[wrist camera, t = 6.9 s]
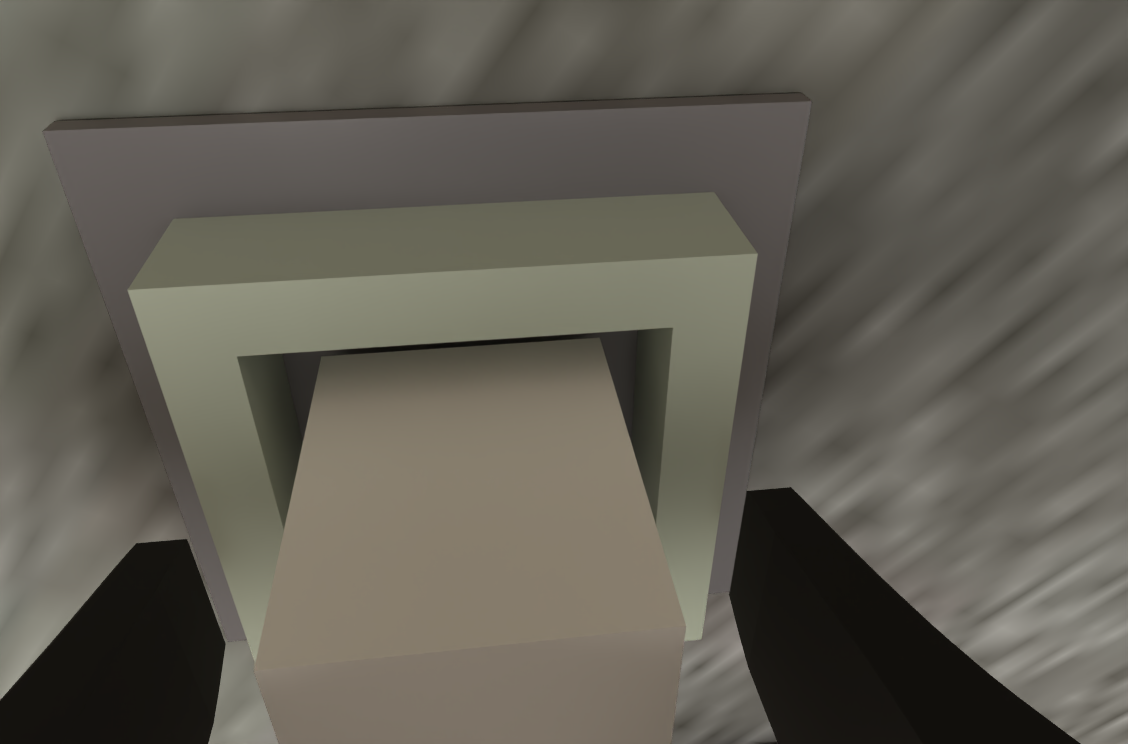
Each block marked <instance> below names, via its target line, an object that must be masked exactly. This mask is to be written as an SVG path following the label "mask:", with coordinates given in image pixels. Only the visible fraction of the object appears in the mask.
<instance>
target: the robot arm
mask: <svg viewBox="0 0 1128 744" xmlns="http://www.w3.org/2000/svg"><path fill="white" fill-rule="evenodd" d="M729 596H730V600H731V604H732V608H733V612H734V616H735V620H736V624H737V628H738V632H739V635H740V639H741V643H742V646H743V650H744V654H745V657H746V661H747V664H748V667H749V670H750V673H751V675H752V678H753V681H754V683H755V686H756V688H757V691H758V694H759V696H760V699H761V701H762V704H763V706H764V709H765V712H766V714H767V717H768V719H769V722H770V724H771V727H772V729H773V732H774V734H775V737H776V739H777V742H778V744H1080V743H1079V742H1078V741H1076V740H1075V739H1073V738H1072V737H1071V736H1069V735H1068V734H1067V733H1065V732H1064V731H1063V730H1061V729H1060V728H1059V727H1057V726H1056V725H1055V724H1053V723H1052V722H1051V721H1049V720H1048V719H1047V718H1045V717H1044V716H1043V715H1041V714H1040V713H1039V712H1037V711H1036V710H1035V709H1033V708H1032V707H1031V706H1029V705H1028V704H1027V703H1025V702H1024V701H1023V700H1021V699H1020V698H1019V697H1017V696H1016V695H1015V694H1014V693H1012V692H1011V691H1010V690H1008V689H1007V688H1006V687H1005V686H1003V685H1002V684H1001V683H1000V682H998V681H997V680H996V679H995V678H993V677H992V676H991V675H990V674H989V673H987V672H986V671H985V670H984V669H983V668H981V667H980V666H979V665H978V664H977V663H975V662H974V661H973V660H972V659H971V658H970V657H968V656H967V655H966V654H965V653H964V652H963V651H961V650H960V649H959V648H958V647H957V646H956V645H954V644H953V643H952V642H951V641H950V640H949V639H947V638H946V637H945V636H944V635H943V634H942V633H941V632H940V631H938V630H937V629H936V628H935V627H934V626H933V625H932V624H931V623H930V622H928V621H927V620H926V619H925V618H924V617H923V616H922V615H921V614H920V613H919V612H918V611H916V610H915V609H914V608H913V607H912V606H911V605H910V604H909V603H908V602H907V601H906V600H905V599H904V598H903V597H901V596H900V595H899V594H898V593H897V592H896V591H895V590H894V589H893V588H892V587H891V586H890V585H889V584H888V583H886V582H885V581H884V580H883V579H882V578H881V577H880V576H879V575H878V574H877V573H876V572H875V571H874V570H873V569H872V568H871V567H870V566H869V565H868V564H867V563H866V562H865V561H864V560H863V559H862V558H861V557H860V556H859V555H858V554H857V553H856V552H855V551H854V550H853V549H852V548H851V547H850V546H849V545H848V544H847V543H846V542H845V541H844V540H843V539H842V538H841V537H840V536H839V535H838V534H837V533H836V532H835V531H834V530H833V529H832V528H831V527H830V526H829V525H828V524H827V523H826V522H825V521H824V520H823V519H822V518H821V517H820V516H819V515H818V514H817V513H816V512H815V511H814V510H813V509H812V508H811V507H810V506H809V505H808V504H807V503H806V502H805V501H804V500H803V499H802V498H801V497H800V496H799V495H798V494H797V493H796V492H795V491H794V490H793V489H792V488H791V487H790V488H778V489H766V490H755V491H746V497H745V503H744V509H743V515H742V521H741V527H740V533H739V539H738V545H737V551H736V557H735V563H734V569H733V575H732V580H731V586H730V592H729ZM224 651H225V641H224V639H223V636H222V633H221V630H220V628H219V625H218V622H217V620H216V617H215V614H214V611H213V609H212V606H211V603H210V600H209V598H208V595H207V592H206V590H205V587H204V584H203V581H202V579H201V576H200V573H199V571H198V568H197V565H196V562H195V560H194V557H193V554H192V552H191V549H190V546H189V543H188V541H187V539H183V540H171V541H159V542H147V543H136V544H135V545H134V547H133V548H132V549H131V550H130V551H129V552H128V553H127V554H126V555H125V557H124V558H123V559H122V560H121V561H120V562H119V563H118V565H117V566H116V567H115V568H114V569H113V570H112V572H111V573H110V574H109V575H108V576H107V577H106V579H105V580H104V581H103V582H102V583H101V585H100V586H99V587H98V588H97V589H96V591H95V592H94V593H93V594H92V595H91V596H90V598H89V599H88V600H87V601H86V602H85V604H84V605H83V606H82V607H81V608H80V609H79V611H78V612H77V613H76V614H75V615H74V616H73V618H72V619H71V620H70V621H69V622H68V624H67V625H66V626H65V627H64V628H63V629H62V631H61V632H60V633H59V634H58V635H57V636H56V638H55V639H54V640H53V641H52V642H51V643H50V645H49V646H48V647H47V648H46V649H45V650H44V651H43V652H42V654H41V655H40V656H39V657H38V658H37V659H36V660H35V661H34V663H33V664H32V665H31V666H30V667H29V668H28V669H27V671H26V672H25V673H24V674H23V675H22V676H21V677H20V678H19V680H18V681H17V682H16V683H15V684H14V685H13V686H12V687H11V689H10V690H9V691H8V692H7V693H6V694H5V695H4V697H3V698H2V699H1V700H0V744H208V742H209V738H210V734H211V730H212V727H213V723H214V717H215V711H216V705H217V699H218V693H219V686H220V679H221V672H222V665H223V658H224Z"/></svg>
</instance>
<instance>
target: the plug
mask: <svg viewBox="0 0 1128 744" xmlns="http://www.w3.org/2000/svg"><path fill="white" fill-rule="evenodd" d="M685 631H686V624H685V620H684V617H683V614H682V610H681V607H680V604H679V600H678V597H677V594H676V590H675V587H674V584H673V580H672V577H671V574H670V570H669V567H668V564H667V560H666V557H665V554H664V550H663V547H662V544H661V540H660V537H659V534H658V530H657V527H656V524H655V520H654V517H653V514H652V510H651V507H650V504H649V500H648V497H647V494H646V490H645V487H644V484H643V480H642V477H641V474H640V470H639V467H638V464H637V460H636V457H635V454H634V450H633V447H632V444H631V440H630V437H629V434H628V430H627V427H626V424H625V420H624V417H623V414H622V410H621V407H620V404H619V400H618V397H617V394H616V390H615V387H614V384H613V380H612V377H611V374H610V370H609V367H608V364H607V360H606V357H605V354H604V350H603V347H602V344H601V340H600V338H587V339H572V340H557V341H543V342H528V343H513V344H498V345H484V346H469V347H454V348H439V349H424V350H410V351H395V352H380V353H365V354H351V355H336V356H321V361H320V365H319V370H318V375H317V379H316V384H315V389H314V393H313V398H312V403H311V407H310V412H309V416H308V421H307V426H306V430H305V435H304V440H303V444H302V449H301V454H300V458H299V463H298V467H297V472H296V477H295V481H294V486H293V491H292V495H291V500H290V505H289V509H288V514H287V518H286V523H285V528H284V532H283V537H282V542H281V546H280V551H279V556H278V560H277V565H276V570H275V574H274V579H273V583H272V588H271V593H270V597H269V602H268V607H267V611H266V616H265V621H264V625H263V630H262V634H261V639H260V644H259V648H258V653H257V658H256V662H255V667H254V674H255V676H256V679H257V682H258V685H259V688H260V691H261V694H262V696H263V699H264V702H265V705H266V708H267V711H268V714H269V717H270V719H271V722H272V725H273V728H274V731H275V734H276V737H277V740H278V742H279V744H671V742H672V734H673V726H674V718H675V710H676V702H677V694H678V686H679V679H680V671H681V663H682V655H683V647H684V639H685Z"/></svg>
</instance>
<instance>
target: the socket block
mask: <svg viewBox="0 0 1128 744" xmlns="http://www.w3.org/2000/svg"><path fill="white" fill-rule="evenodd" d="M811 105H812V101H811V100H810V99H809V98H807V97H806V96H805V95H804V94H802V93H786V94H759V95H733V96H706V97H680V98H653V99H627V100H600V101H574V102H547V103H520V104H494V105H467V106H441V107H414V108H388V109H361V110H334V111H308V112H281V113H255V114H228V115H202V116H175V117H149V118H122V119H95V120H69V121H54V122H53V123H52V124H50V125H49V126H48V127H47V128H46V129H44V130H43V134H44V137H45V140H46V142H47V145H48V148H49V151H50V153H51V156H52V159H53V162H54V164H55V167H56V170H57V173H58V175H59V178H60V181H61V184H62V186H63V189H64V192H65V195H66V197H67V200H68V203H69V206H70V208H71V211H72V214H73V217H74V219H75V222H76V225H77V228H78V230H79V233H80V236H81V239H82V241H83V244H84V247H85V250H86V252H87V255H88V258H89V261H90V263H91V266H92V269H93V272H94V274H95V277H96V280H97V283H98V285H99V288H100V291H101V294H102V296H103V299H104V302H105V305H106V307H107V310H108V313H109V316H110V318H111V321H112V324H113V327H114V329H115V332H116V335H117V338H118V341H119V343H120V346H121V349H122V352H123V354H124V357H125V360H126V363H127V365H128V368H129V371H130V374H131V376H132V379H133V382H134V385H135V387H136V390H137V393H138V396H139V398H140V401H141V404H142V407H143V409H144V412H145V415H146V418H147V420H148V423H149V426H150V429H151V431H152V434H153V437H154V440H155V442H156V445H157V448H158V451H159V453H160V456H161V459H162V462H163V464H164V467H165V470H166V473H167V475H168V478H169V481H170V484H171V486H172V489H173V492H174V495H175V497H176V500H177V503H178V506H179V508H180V511H181V514H182V517H183V519H184V522H185V525H186V528H187V530H188V533H189V536H190V539H191V541H192V544H193V547H194V550H195V552H196V555H197V558H198V561H199V563H200V566H201V569H202V572H203V574H204V577H205V580H206V583H207V585H208V588H209V591H210V594H211V596H212V599H213V602H214V605H215V607H216V610H217V613H218V616H219V618H220V621H221V624H222V627H223V629H224V632H225V635H226V638H227V640H228V642H232V641H242V640H247V641H248V644H249V647H250V650H251V653H252V656H253V659H254V662H256V658H257V653H258V648H259V644H260V639H261V634H262V630H263V625H264V621H265V616H266V611H267V607H268V602H269V597H270V593H271V588H272V583H273V579H274V574H275V570H276V565H277V560H278V556H279V551H280V546H281V542H282V537H283V532H284V528H285V523H286V518H287V514H288V509H289V505H290V500H291V495H292V491H293V486H294V481H295V477H296V472H297V467H298V463H299V458H300V454H301V449H302V444H303V440H304V435H305V430H306V426H307V421H308V416H309V412H310V407H311V403H312V398H313V393H314V389H315V384H316V379H317V375H318V370H319V365H320V361H321V356H336V355H351V354H365V353H380V352H395V351H410V350H424V349H439V348H454V347H469V346H484V345H498V344H513V343H528V342H543V341H557V340H572V339H587V338H600V340H601V344H602V347H603V350H604V354H605V357H606V360H607V364H608V367H609V370H610V374H611V377H612V380H613V384H614V387H615V390H616V394H617V397H618V400H619V404H620V407H621V410H622V414H623V417H624V420H625V424H626V427H627V430H628V434H629V437H630V440H631V444H632V447H633V450H634V454H635V457H636V460H637V464H638V467H639V470H640V474H641V477H642V480H643V484H644V487H645V490H646V494H647V497H648V500H649V504H650V507H651V510H652V514H653V517H654V520H655V524H656V527H657V530H658V534H659V537H660V540H661V544H662V547H663V550H664V554H665V557H666V560H667V564H668V567H669V570H670V574H671V577H672V580H673V584H674V587H675V590H676V594H677V597H678V600H679V604H680V607H681V610H682V614H683V617H684V620H685V624H686V631H685V639H684V641H691V640H700V639H701V638H702V632H703V625H704V618H705V611H706V604H707V597H708V594H711V593H721V592H730V586H731V580H732V575H733V569H734V563H735V557H736V551H737V545H738V539H739V533H740V527H741V521H742V515H743V509H744V503H745V497H746V491H747V486H748V480H749V474H750V468H751V462H752V456H753V450H754V444H755V438H756V432H757V426H758V420H759V414H760V408H761V402H762V396H763V390H764V384H765V378H766V373H767V367H768V361H769V355H770V349H771V343H772V337H773V331H774V325H775V319H776V313H777V307H778V301H779V295H780V289H781V283H782V277H783V271H784V265H785V259H786V253H787V247H788V242H789V236H790V230H791V224H792V218H793V212H794V206H795V200H796V194H797V188H798V182H799V176H800V170H801V164H802V158H803V152H804V146H805V140H806V134H807V128H808V122H809V116H810V111H811Z"/></svg>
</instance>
